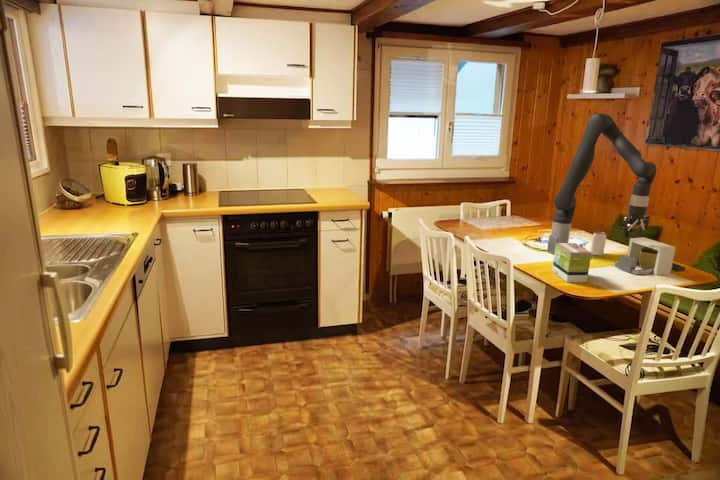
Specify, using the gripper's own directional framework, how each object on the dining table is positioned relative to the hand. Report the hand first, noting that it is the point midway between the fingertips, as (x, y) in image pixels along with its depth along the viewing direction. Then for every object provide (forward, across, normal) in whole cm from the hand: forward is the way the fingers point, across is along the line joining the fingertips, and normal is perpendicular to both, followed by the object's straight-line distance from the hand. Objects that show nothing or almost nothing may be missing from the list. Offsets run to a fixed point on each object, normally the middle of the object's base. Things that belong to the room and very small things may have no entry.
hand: (632, 237), depth 235 cm
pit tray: (+17, +27, 0) cm, 32 cm away
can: (+17, +6, +26) cm, 32 cm away
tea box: (+17, -36, -1) cm, 40 cm away
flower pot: (+17, +13, 0) cm, 22 cm away
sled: (+17, +10, 0) cm, 19 cm away
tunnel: (+17, +13, 0) cm, 22 cm away
